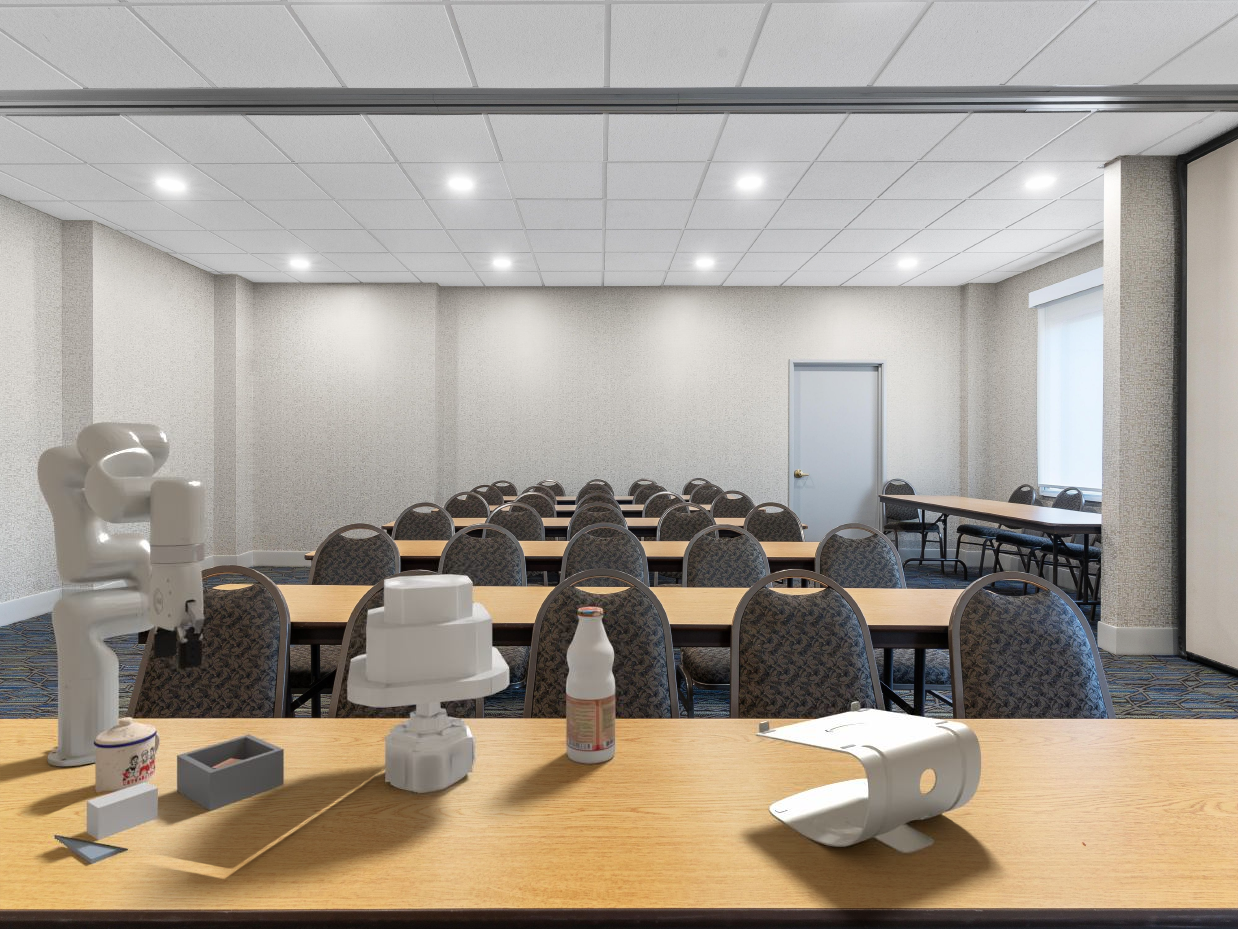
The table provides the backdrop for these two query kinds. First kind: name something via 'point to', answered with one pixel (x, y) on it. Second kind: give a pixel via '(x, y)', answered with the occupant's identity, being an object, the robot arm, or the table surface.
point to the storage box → (229, 771)
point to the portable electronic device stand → (881, 776)
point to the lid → (114, 819)
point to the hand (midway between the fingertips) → (177, 661)
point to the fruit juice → (590, 691)
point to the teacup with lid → (125, 755)
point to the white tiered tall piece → (427, 675)
